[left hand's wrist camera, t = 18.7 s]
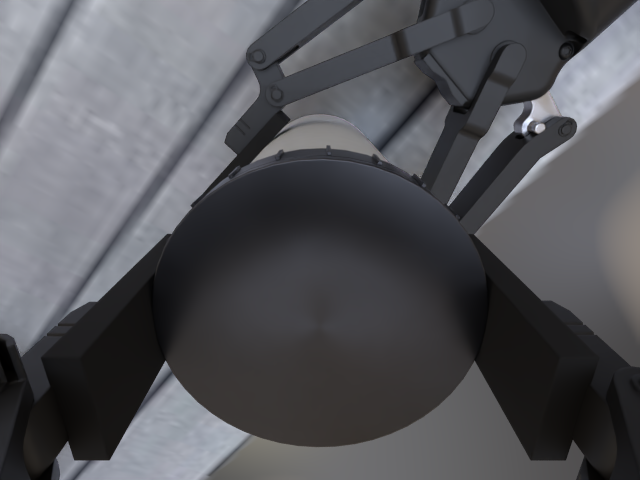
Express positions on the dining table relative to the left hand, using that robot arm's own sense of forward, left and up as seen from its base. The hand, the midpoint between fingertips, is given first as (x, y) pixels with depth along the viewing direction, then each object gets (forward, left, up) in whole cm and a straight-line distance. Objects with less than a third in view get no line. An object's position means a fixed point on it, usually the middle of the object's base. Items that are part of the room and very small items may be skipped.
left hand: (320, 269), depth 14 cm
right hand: (-4, -2, -9) cm, 11 cm away
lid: (0, 0, +3) cm, 3 cm away
